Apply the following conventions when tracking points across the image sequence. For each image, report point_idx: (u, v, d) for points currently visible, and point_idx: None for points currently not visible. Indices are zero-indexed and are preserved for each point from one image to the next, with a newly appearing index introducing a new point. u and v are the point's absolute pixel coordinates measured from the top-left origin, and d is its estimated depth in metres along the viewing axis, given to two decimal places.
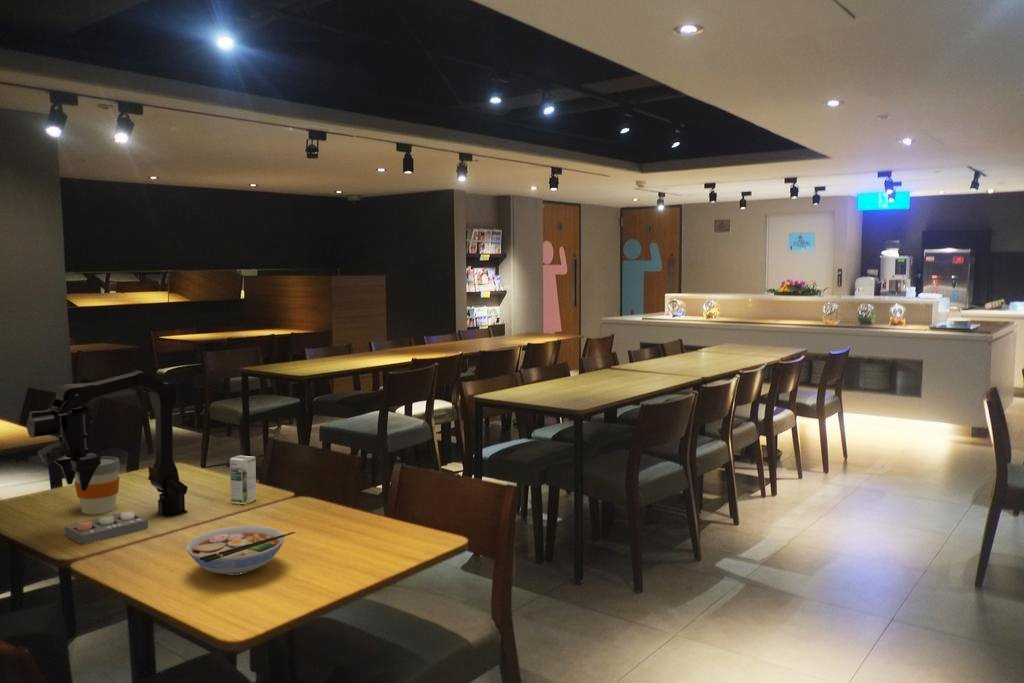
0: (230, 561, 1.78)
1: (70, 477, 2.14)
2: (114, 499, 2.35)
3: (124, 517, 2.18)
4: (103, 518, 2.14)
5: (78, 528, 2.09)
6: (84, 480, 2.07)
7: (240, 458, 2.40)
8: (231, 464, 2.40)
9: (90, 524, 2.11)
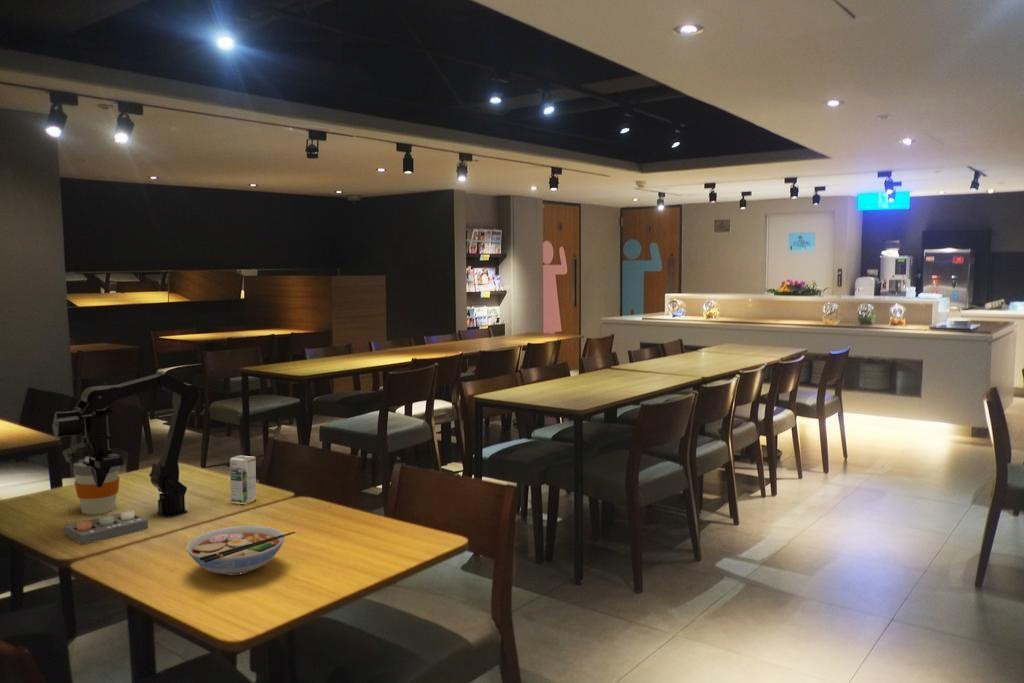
0: (230, 561, 1.78)
1: None
2: (114, 499, 2.35)
3: (124, 517, 2.18)
4: (103, 518, 2.14)
5: (78, 528, 2.09)
6: (100, 477, 2.16)
7: (240, 458, 2.40)
8: (231, 464, 2.40)
9: (90, 524, 2.11)
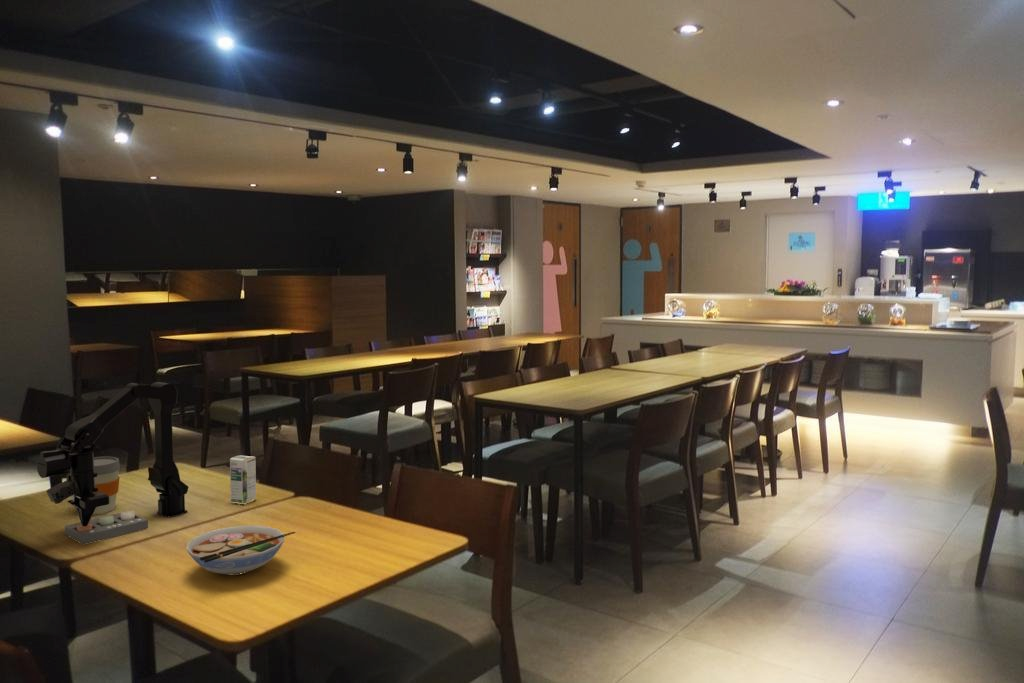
0: (230, 561, 1.78)
1: None
2: (114, 499, 2.35)
3: (124, 517, 2.18)
4: (103, 518, 2.14)
5: (78, 531, 2.09)
6: (85, 516, 2.10)
7: (240, 458, 2.40)
8: (231, 464, 2.40)
9: (90, 527, 2.11)
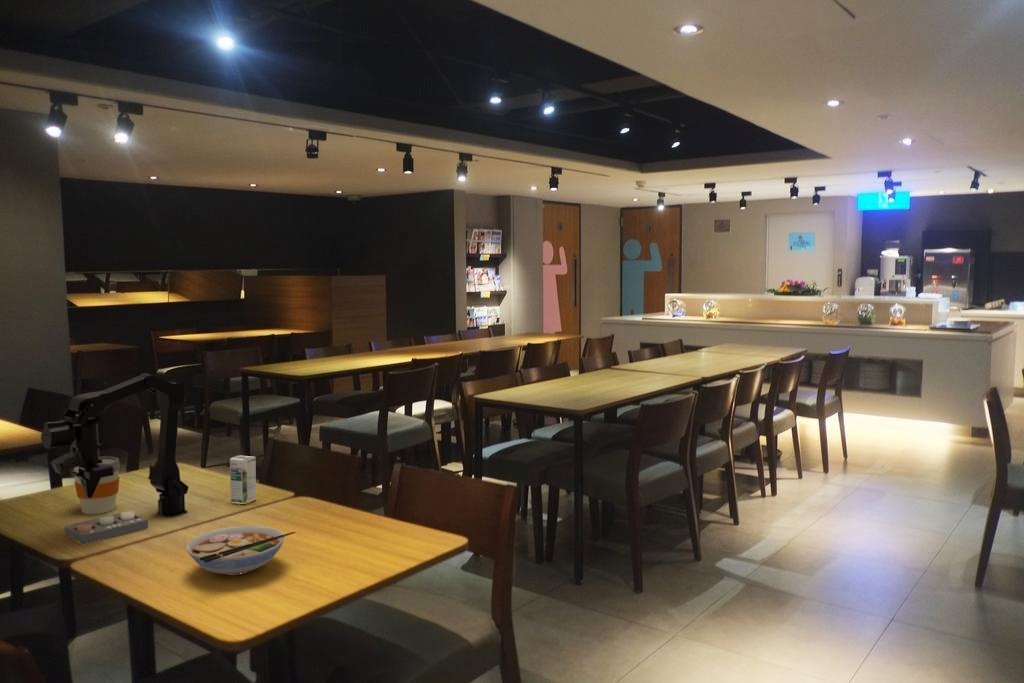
0: (230, 561, 1.78)
1: None
2: (114, 499, 2.35)
3: (124, 517, 2.18)
4: (103, 518, 2.14)
5: (78, 531, 2.09)
6: (90, 487, 2.10)
7: (240, 458, 2.40)
8: (231, 464, 2.40)
9: (90, 527, 2.11)
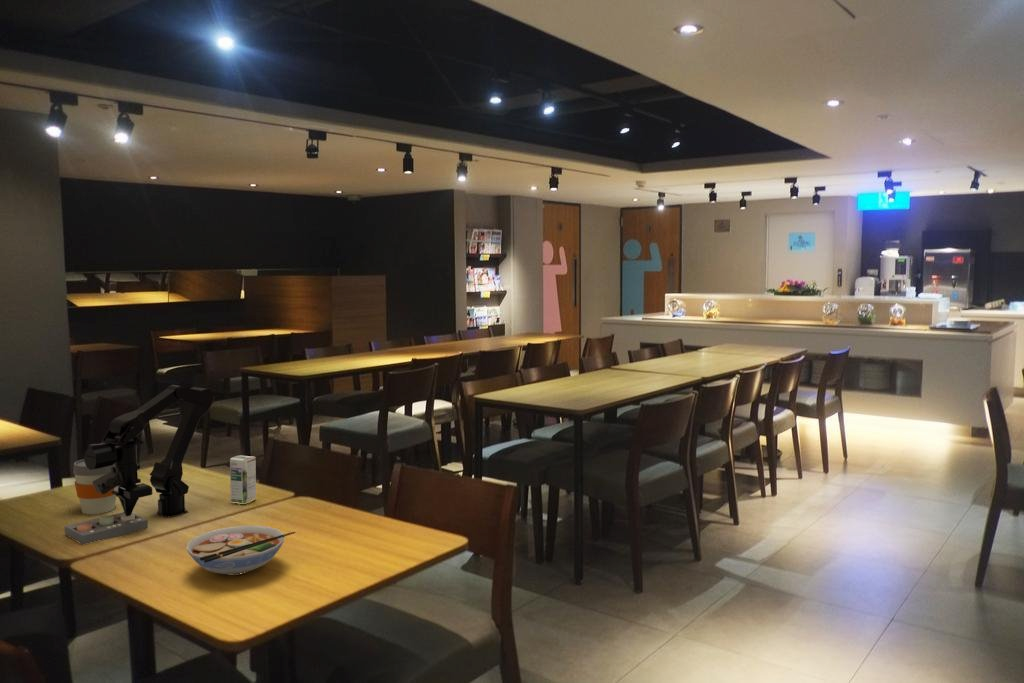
0: (230, 561, 1.78)
1: None
2: (114, 499, 2.35)
3: (124, 520, 2.18)
4: (103, 518, 2.14)
5: (78, 531, 2.09)
6: (129, 506, 2.19)
7: (240, 458, 2.40)
8: (231, 464, 2.40)
9: (90, 527, 2.11)
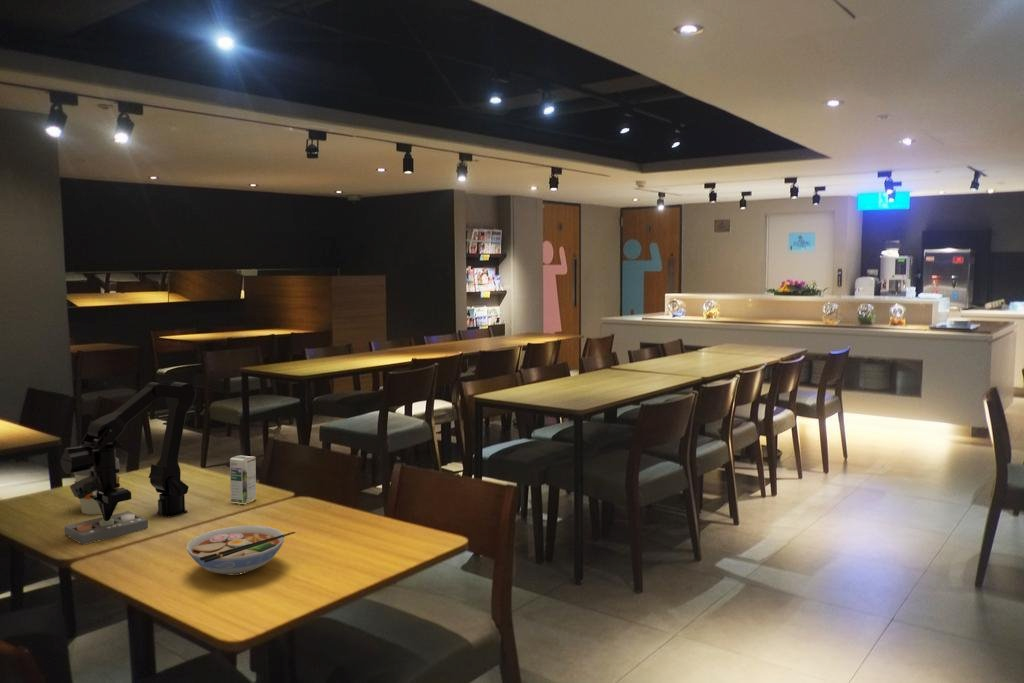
0: (230, 561, 1.78)
1: None
2: None
3: (124, 520, 2.18)
4: (103, 521, 2.15)
5: (78, 531, 2.09)
6: (108, 511, 2.14)
7: (240, 458, 2.40)
8: (231, 464, 2.40)
9: (90, 527, 2.11)
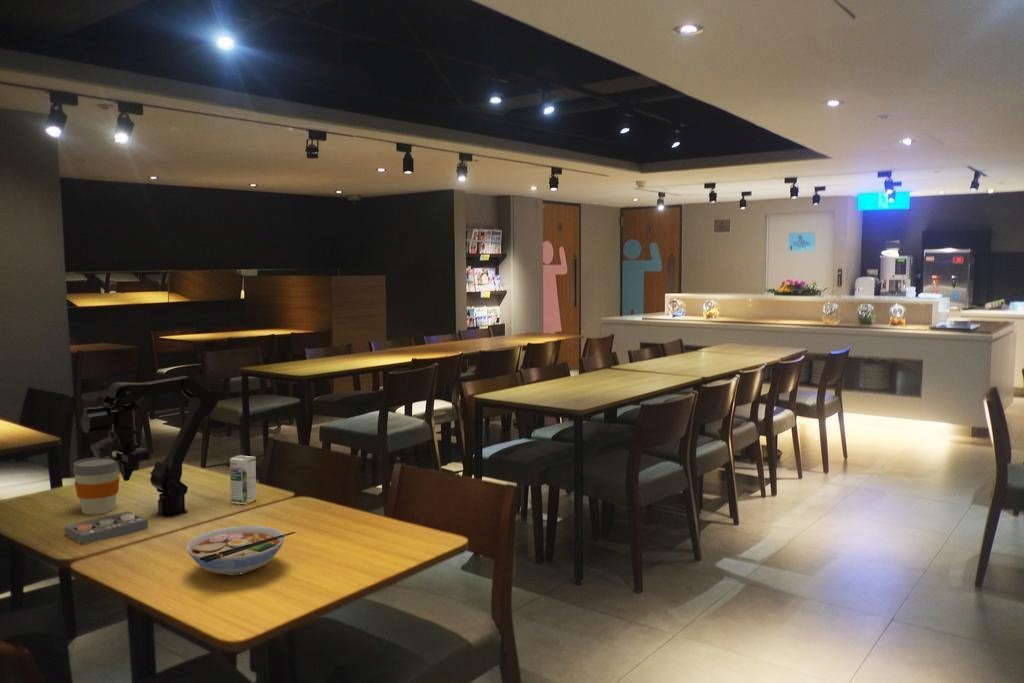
0: (230, 561, 1.78)
1: None
2: (114, 499, 2.35)
3: (124, 520, 2.18)
4: (103, 521, 2.15)
5: (78, 531, 2.09)
6: (127, 471, 2.20)
7: (240, 458, 2.40)
8: (231, 464, 2.40)
9: (90, 527, 2.11)
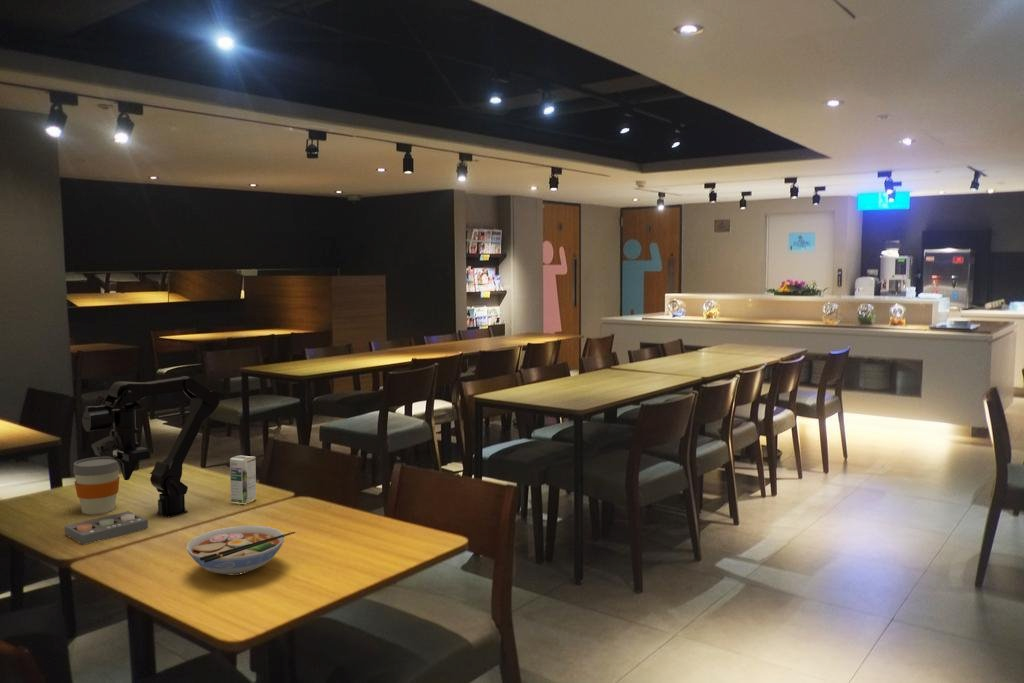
0: (230, 561, 1.78)
1: None
2: (114, 499, 2.35)
3: (124, 520, 2.18)
4: (103, 521, 2.15)
5: (78, 531, 2.09)
6: (128, 470, 2.20)
7: (240, 458, 2.40)
8: (231, 464, 2.40)
9: (90, 527, 2.11)
